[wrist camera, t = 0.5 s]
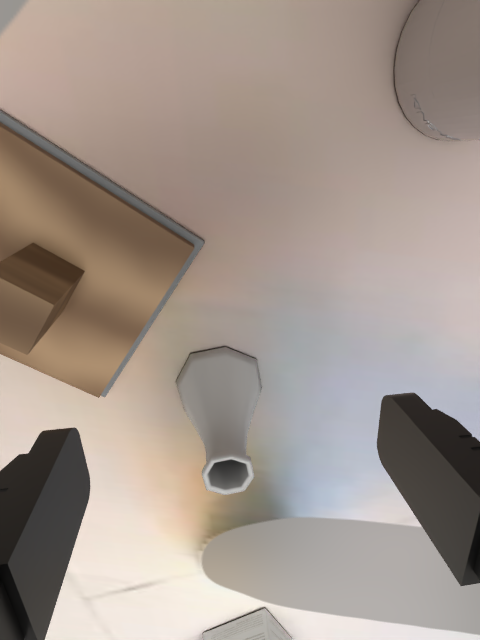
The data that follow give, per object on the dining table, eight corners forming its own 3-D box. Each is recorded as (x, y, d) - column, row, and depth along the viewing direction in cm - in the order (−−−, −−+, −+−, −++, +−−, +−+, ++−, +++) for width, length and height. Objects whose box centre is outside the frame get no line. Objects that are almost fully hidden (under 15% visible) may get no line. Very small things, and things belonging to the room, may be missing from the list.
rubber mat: (-14, 100, 22) (-20, 99, 22) (204, 240, 27) (204, 242, 26) (-94, 302, 26) (-100, 305, 26) (106, 393, 31) (104, 397, 31)
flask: (172, 415, 33) (163, 517, 24) (180, 341, 30) (172, 425, 21) (254, 419, 34) (275, 519, 25) (269, 349, 31) (298, 432, 22)
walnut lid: (-14, 113, 22) (-100, 99, 16) (194, 244, 26) (193, 276, 20) (-89, 303, 26) (-182, 354, 20) (101, 390, 30) (76, 454, 24)
